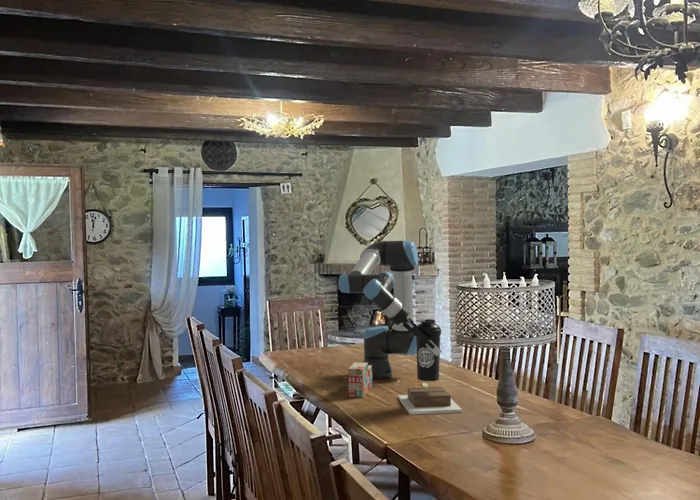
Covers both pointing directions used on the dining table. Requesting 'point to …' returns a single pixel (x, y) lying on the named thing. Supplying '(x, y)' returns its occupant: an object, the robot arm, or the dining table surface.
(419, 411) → the base board
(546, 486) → the dining table surface
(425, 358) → the water bottle
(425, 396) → the plinth
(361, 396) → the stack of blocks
